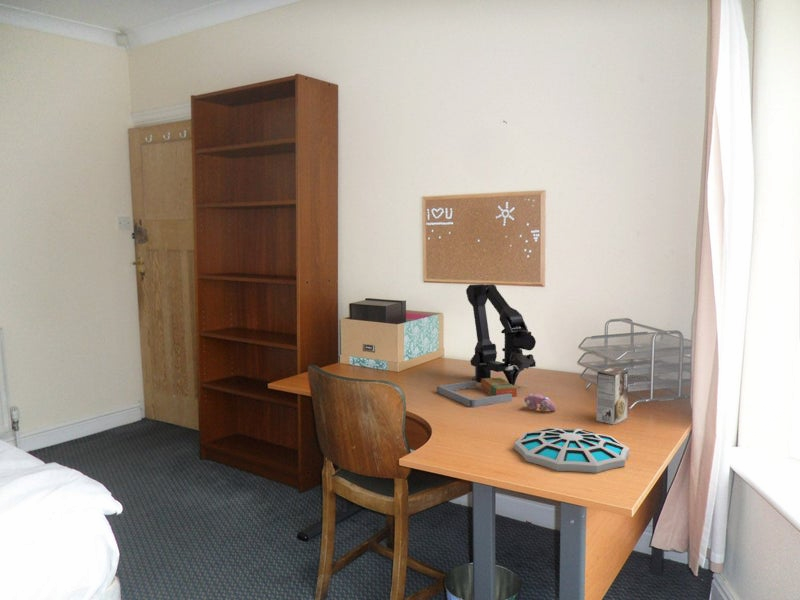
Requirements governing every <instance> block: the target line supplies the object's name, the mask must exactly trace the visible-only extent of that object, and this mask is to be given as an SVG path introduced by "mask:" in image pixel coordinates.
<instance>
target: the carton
mask: <svg viewBox="0 0 800 600" xmlns="http://www.w3.org/2000/svg"><path fill="white" fill-rule="evenodd" d="M480 387H482V388H483V389H482V388H481V389H482V390H484V391H485V390H486V391H485V392H487V394H489V393H490V394H489V395H491V396H492V395H493V396H496V395H503V394H509V393H510V394H512V398H516V397H518V396H517V394H518V392H517V386H515V385H514V386H513V385H512V384H510V383H509V382H508V380H505V379H503V378H502V377H491V378H483V379H481V382H480Z"/></svg>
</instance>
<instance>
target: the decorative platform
mask: <svg viewBox="0 0 800 600" xmlns="http://www.w3.org/2000/svg"><path fill="white" fill-rule="evenodd" d="M513 449H514V450H515V451H516V452H517V453H519V455H521V457H522V458H523V459H524V460H525V462H527V463H531V464H535V465H540V466H543V467H545V468H547V469H548V468H549V469H551V470H554V471H556V472H557V471H558V472H579V473H590V474H591V473H593V474H598V473H600V472H605V471H609V470H612V469H617V468H622V467H625V465H626V460H627V458H628V457H629V455H630V453H631V452H630V451H631V448H630V447H628V446H627V445H624V444H623V443H621V442H620V441H618V439H616V438H614V437H613V436H611V435H607V434H601V433H598V432H597V433H596V432H593V431H589V430H587V429H586V430H585V429H583V428H557V427H548V428H544V429H540V430H533V431H527V432H523V433H522V435H521V437H520V438H518V439H517V440H516V441H514V442H513Z"/></svg>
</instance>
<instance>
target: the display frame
mask: <svg viewBox="0 0 800 600" xmlns="http://www.w3.org/2000/svg"><path fill="white" fill-rule="evenodd" d="M473 387H476V388H477V381H476V380H470V381H462V382H454V383H449V384H448V383H447V384H441V385H437V386H436V393H437V392H438V394H440V395H442V396H444V395H445V396H444V397H446V396H447V398H449V399H451V400H453V399H454V400H453V401H455V402H458V403H460V402H461V403H460V404H462V403H463V405H465V406H467V407H469V406H470V408H477V407H484V406H488V405H489V406H491V405H495V404H502V403H508V402H512V401H513V397H512V394H510V393H509V394H503V395H496V396H492V395H491V396H483V397H479V398H471V397H468V396H466V395H463V394H461V393H459V392H456V391H460V389H463V390H467V389H466V388H469V389H474V388H473ZM454 390H456V391H454Z"/></svg>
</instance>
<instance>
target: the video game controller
mask: <svg viewBox="0 0 800 600" xmlns="http://www.w3.org/2000/svg"><path fill="white" fill-rule="evenodd" d="M524 402H525V404H526V405H527V406H528V407H530V408H531V409H532V410H535V411H536V410H538V409H539V410H540V412H543V413H544V412H546V410H548V411H551V412H555V411H556V405H555V403H554V402H553V401H552V400H551V399H550V398H549V397H548V396H544V395H542V394H539V393H534V394H532V393H529V394H528V395H526V396H525V397H524Z"/></svg>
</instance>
